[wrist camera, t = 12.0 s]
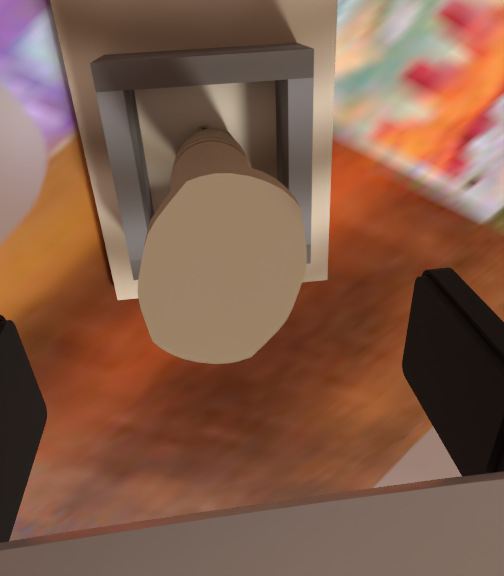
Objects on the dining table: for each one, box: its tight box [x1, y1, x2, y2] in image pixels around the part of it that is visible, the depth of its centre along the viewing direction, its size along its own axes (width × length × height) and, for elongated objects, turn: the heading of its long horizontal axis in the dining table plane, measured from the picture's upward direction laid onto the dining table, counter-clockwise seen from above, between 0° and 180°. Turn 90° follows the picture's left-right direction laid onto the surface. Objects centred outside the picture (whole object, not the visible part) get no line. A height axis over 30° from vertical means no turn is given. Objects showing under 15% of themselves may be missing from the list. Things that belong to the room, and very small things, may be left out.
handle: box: [138, 125, 307, 364], centre depth 21 cm, size 5×6×15 cm
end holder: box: [50, 0, 337, 300], centre depth 26 cm, size 18×14×5 cm
